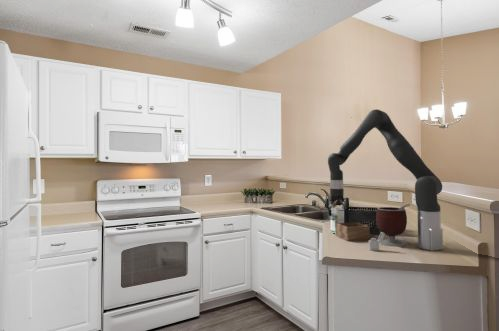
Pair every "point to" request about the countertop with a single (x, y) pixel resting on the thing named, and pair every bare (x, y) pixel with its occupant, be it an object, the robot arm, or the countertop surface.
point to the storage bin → (363, 217)
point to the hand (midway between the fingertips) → (337, 215)
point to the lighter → (376, 242)
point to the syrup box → (336, 218)
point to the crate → (353, 231)
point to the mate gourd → (391, 223)
